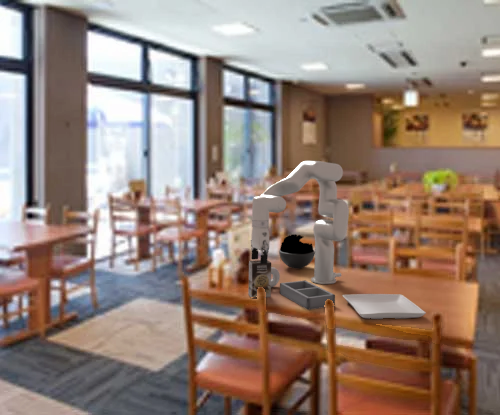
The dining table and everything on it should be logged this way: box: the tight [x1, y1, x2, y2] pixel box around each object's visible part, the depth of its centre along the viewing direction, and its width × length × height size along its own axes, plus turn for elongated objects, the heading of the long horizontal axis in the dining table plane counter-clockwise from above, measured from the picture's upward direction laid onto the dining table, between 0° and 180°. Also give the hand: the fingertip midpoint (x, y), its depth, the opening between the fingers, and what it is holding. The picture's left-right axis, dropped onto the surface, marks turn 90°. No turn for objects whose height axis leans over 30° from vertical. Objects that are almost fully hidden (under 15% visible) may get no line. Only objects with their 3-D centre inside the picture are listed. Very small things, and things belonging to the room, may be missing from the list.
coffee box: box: [248, 259, 272, 298], centre depth 232 cm, size 9×6×16 cm
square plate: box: [342, 293, 427, 320], centre depth 214 cm, size 27×27×4 cm
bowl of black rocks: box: [278, 233, 315, 270], centre depth 286 cm, size 20×20×19 cm
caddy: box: [279, 279, 336, 310], centre depth 228 cm, size 26×13×5 cm, turn 24°
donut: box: [271, 266, 280, 288], centre depth 247 cm, size 10×4×10 cm, turn 123°
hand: (259, 261), depth 231 cm, fingers open, 9 cm apart
